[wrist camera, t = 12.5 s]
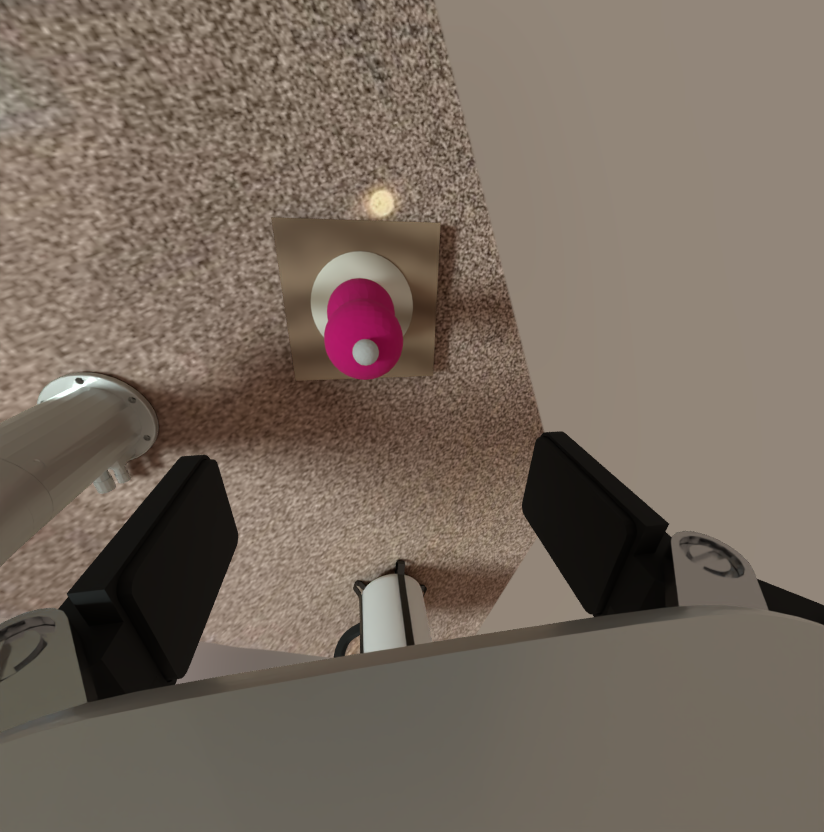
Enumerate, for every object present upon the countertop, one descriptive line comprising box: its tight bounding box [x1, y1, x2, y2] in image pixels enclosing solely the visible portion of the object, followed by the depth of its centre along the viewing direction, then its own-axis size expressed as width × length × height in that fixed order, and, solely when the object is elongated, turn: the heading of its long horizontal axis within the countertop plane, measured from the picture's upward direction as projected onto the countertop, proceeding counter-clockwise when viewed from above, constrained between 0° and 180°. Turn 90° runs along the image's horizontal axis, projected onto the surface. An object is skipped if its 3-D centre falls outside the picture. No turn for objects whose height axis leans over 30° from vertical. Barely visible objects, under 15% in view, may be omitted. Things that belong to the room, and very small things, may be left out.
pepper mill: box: [324, 278, 403, 380], centre depth 31 cm, size 7×7×20 cm
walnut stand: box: [271, 217, 441, 381], centre depth 41 cm, size 18×18×3 cm
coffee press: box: [334, 561, 432, 658], centre depth 54 cm, size 17×16×30 cm
